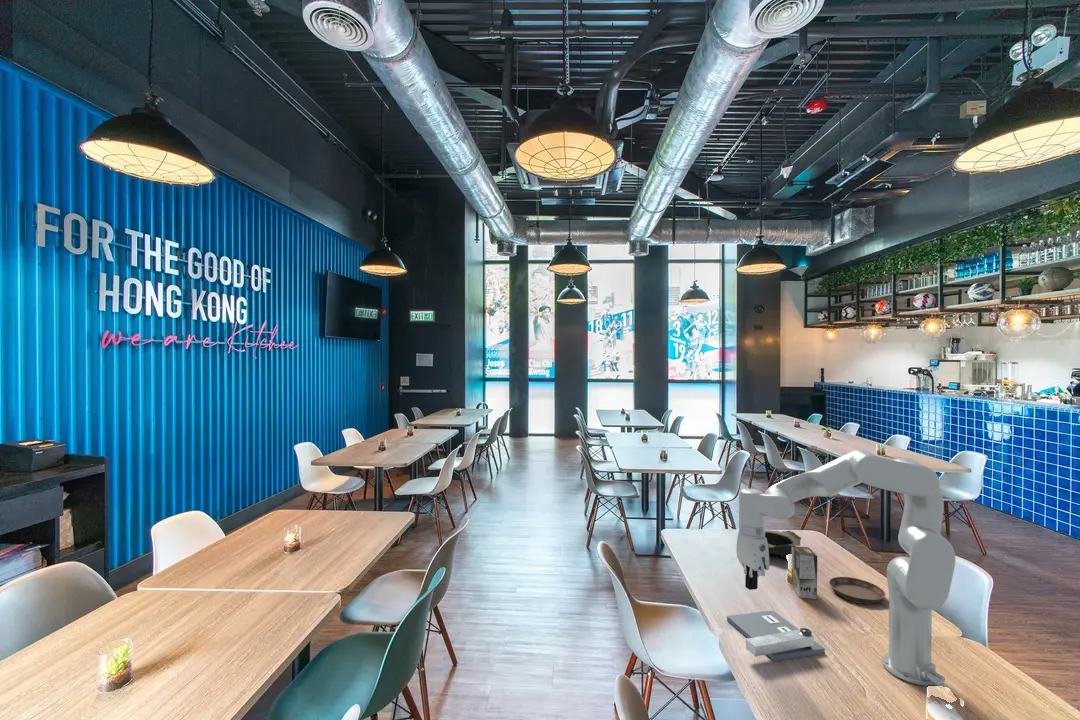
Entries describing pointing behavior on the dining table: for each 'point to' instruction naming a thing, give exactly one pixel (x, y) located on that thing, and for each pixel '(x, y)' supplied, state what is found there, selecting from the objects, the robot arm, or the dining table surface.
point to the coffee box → (804, 572)
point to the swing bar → (780, 642)
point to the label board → (771, 631)
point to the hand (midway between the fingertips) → (751, 588)
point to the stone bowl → (781, 542)
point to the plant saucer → (857, 590)
